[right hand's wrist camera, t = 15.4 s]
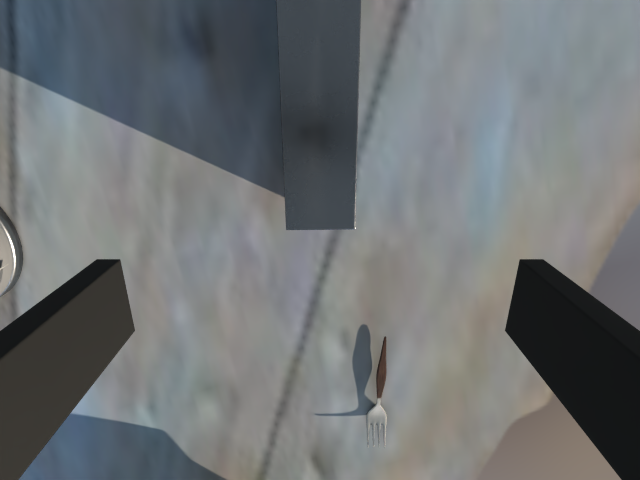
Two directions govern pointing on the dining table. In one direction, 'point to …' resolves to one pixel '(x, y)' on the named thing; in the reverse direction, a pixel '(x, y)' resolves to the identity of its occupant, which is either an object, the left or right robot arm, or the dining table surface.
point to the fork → (378, 400)
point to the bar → (319, 110)
